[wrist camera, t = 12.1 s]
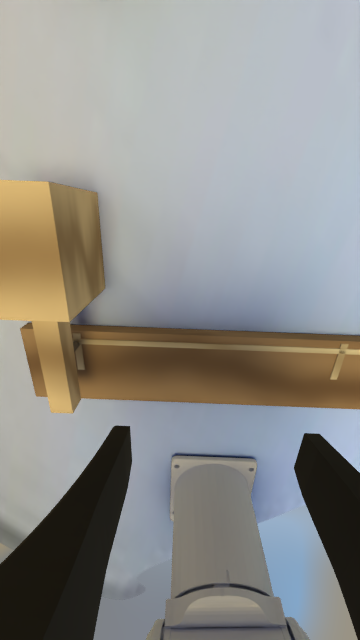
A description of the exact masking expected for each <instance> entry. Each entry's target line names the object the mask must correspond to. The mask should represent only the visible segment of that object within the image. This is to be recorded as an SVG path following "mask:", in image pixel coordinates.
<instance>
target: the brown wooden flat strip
mask: <svg viewBox="0 0 360 640" xmlns="http://www.w3.org/2000/svg"><path fill="white" fill-rule="evenodd" d="M70 327H71V334H72V341H73V342H74V341H77V342H79V344H80V345H79V347H78V348H77V349H76V351H75V352H74V354H75V361H76V367H77V374H78V381H79V387H80V394H81V398H90V399H115V400H140V401H165V402H191V403H216V404H241V405H266V406H291V407H316V408H342V409H360V336H354V335H328V334H302V333H276V332H250V331H224V330H198V329H172V328H147V327H121V326H95V325H70ZM20 330H21V334H22V338H23V343H24V347H25V351H26V355H27V360H28V364H29V368H30V372H31V377H32V381H33V385H34V389H35V393H36V396H40V397H48V396H47V391H46V386H45V382H44V377H43V372H42V368H41V363H40V358H39V354H38V349H37V344H36V339H35V335H34V330H33V325H32V323H27V324H26V325H25V326H23V327H22V328H20Z"/></svg>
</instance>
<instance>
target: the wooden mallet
mask: <svg viewBox="0 0 360 640" xmlns="http://www.w3.org/2000/svg"><path fill="white" fill-rule="evenodd" d="M104 289H105V278H104V266H103V255H102V243H101V231H100V219H99V207H98V196H97V193H96V192H92V191H87V190H83V189H78V188H74V187H70V186H65V185H61V184H56V183H52V182H39V181H12V180H0V319H1V320H27V321H32V325H33V330H34V335H35V339H36V344H37V349H38V354H39V358H40V363H41V368H42V372H43V377H44V382H45V386H46V391H47V396H48V400H49V405H50V410H51V412H52V413H73V412H74V410H75V409H76V407H77V405H78V403H79V402H80V400H81V394H80V387H79V381H78V374H77V367H76V361H75V354H74V352H75V351H76V349H77V348H78V347H79V345H80V344H79V342H77V341H74V342H73V341H72V334H71V327H70V321H71V320H72V319H73V318H74V317H76V316H77V315H78V314H79V313H80V312H81V311H82V310H83V309H84V308H85V307H86V306H87V305H88V304H89V303H90V302H91V301H92V300H93V299H94V298H96V297H97V296H98V295H99V294H100V293H101V292H102V291H103V290H104Z"/></svg>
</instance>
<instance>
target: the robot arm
mask: <svg viewBox="0 0 360 640" xmlns="http://www.w3.org/2000/svg"><path fill="white" fill-rule="evenodd" d="M131 464H132V453H131V436H130V426H114V427H113V428H112V430H111V432H110V433H109V435H108V436H107V438H106V440H105V441H104V443H103V444H102V446H101V447H100V449H99V450H98V451H97V453H96V454H95V456H94V457H93V459H92V460H91V461H90V463H89V464H88V465H87V467H86V468H85V470H84V471H83V472H82V474H81V475H80V476H79V478H78V479H77V480H76V481H75V483H74V484H73V485H72V486H71V488H70V489H69V490H68V491H67V493H66V494H65V495H64V496H63V498H62V499H61V500H60V501H59V502H58V503H57V505H56V506H55V507H54V508H53V509H52V510H51V512H50V513H49V514H48V515H47V516H46V517H45V518H44V519H43V521H42V522H41V523H40V524H39V525H38V526H37V527H36V528H35V529H34V530H33V531H32V532H31V533H30V534H29V536H28V537H27V538H26V539H25V540H24V541H23V542H22V543H21V544H20V545H19V546H18V547H17V548H16V549H15V550H14V551H13V552H12V553H11V554H10V555H9V556H8V557H7V558H6V559H5V560H4V561H3V562H2V563H1V564H0V640H93V638H94V632H95V626H96V621H97V616H98V610H99V605H100V600H101V594H102V589H103V584H104V579H105V574H106V569H107V565H108V561H109V556H110V553H111V549H112V545H113V541H114V538H115V534H116V530H117V526H118V522H119V519H120V515H121V511H122V507H123V504H124V500H125V496H126V492H127V488H128V482H129V476H130V470H131ZM256 469H257V462H256V460H254V459H247V458H222V457H198V456H174V457H173V458H172V463H171V497H170V519H171V520H172V521H174V523H173V550H172V576H171V577H172V578H171V579H172V580H171V599H167V600H166V609H165V610H166V611H165V619H157V620H156V621H155V623H154V625H153V627H152V629H151V630H150V632H149V634H148V635H147V638H146V640H310V639H309V637H308V636H307V634H306V633H305V632H304V631H303V629H302V628H301V627H300V626H299V625H298V623H297V621H296V620H295V619H294V618H292V617H285V616H284V612H283V608H282V604H281V600H280V598H279V597H274V596H273V591H272V587H271V582H270V578H269V574H268V569H267V565H266V561H265V556H264V552H263V548H262V543H261V539H260V535H259V531H258V526H257V522H256V517H255V513H254V509H253V504H252V500H251V492H252V487H253V483H254V478H255V474H256ZM294 470H295V473H296V477H297V480H298V483H299V487H300V490H301V493H302V496H303V498H304V501H305V503H306V506H307V508H308V510H309V513H310V515H311V517H312V520H313V522H314V525H315V527H316V529H317V531H318V534H319V536H320V539H321V541H322V543H323V545H324V548H325V550H326V553H327V555H328V557H329V560H330V562H331V564H332V567H333V569H334V572H335V574H336V577H337V579H338V582H339V585H340V588H341V591H342V594H343V597H344V599H345V602H346V605H347V608H348V611H349V614H350V617H351V620H352V623H353V626H354V629H355V632H356V635H357V638H358V640H360V473H359V472H358V471H357V470H356V469H355V468H354V467H353V466H352V465H351V464H350V463H349V462H348V461H347V460H346V459H345V458H344V457H343V456H342V455H341V454H340V453H339V452H337V451H336V450H335V449H334V448H333V447H332V446H331V445H330V444H329V443H328V442H327V441H326V440H325V439H324V438H323V437H322V436H321V435H320V434H308V433H304V436H303V440H302V443H301V446H300V450H299V453H298V456H297V459H296V463H295V466H294Z"/></svg>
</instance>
